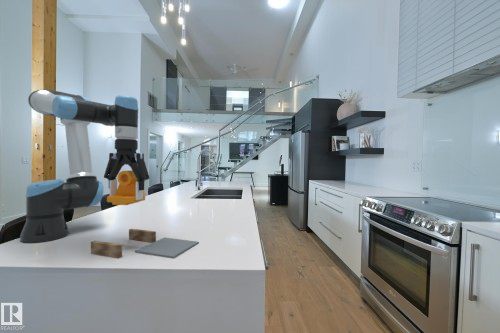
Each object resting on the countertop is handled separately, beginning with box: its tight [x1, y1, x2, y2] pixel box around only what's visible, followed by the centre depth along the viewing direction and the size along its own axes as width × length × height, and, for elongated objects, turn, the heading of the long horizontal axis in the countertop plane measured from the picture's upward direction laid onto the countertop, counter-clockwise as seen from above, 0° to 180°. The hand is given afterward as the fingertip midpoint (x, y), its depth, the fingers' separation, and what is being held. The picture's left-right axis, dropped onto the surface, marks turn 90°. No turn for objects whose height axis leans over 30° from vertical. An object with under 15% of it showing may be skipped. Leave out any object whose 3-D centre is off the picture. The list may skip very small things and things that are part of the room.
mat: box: [134, 237, 200, 259], centre depth 89 cm, size 16×16×1 cm
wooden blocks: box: [90, 228, 157, 259], centre depth 89 cm, size 12×18×4 cm, turn 162°
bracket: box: [106, 169, 146, 206], centre depth 89 cm, size 11×7×12 cm, turn 82°
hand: (126, 198), depth 89 cm, fingers closed on bracket, 11 cm apart
